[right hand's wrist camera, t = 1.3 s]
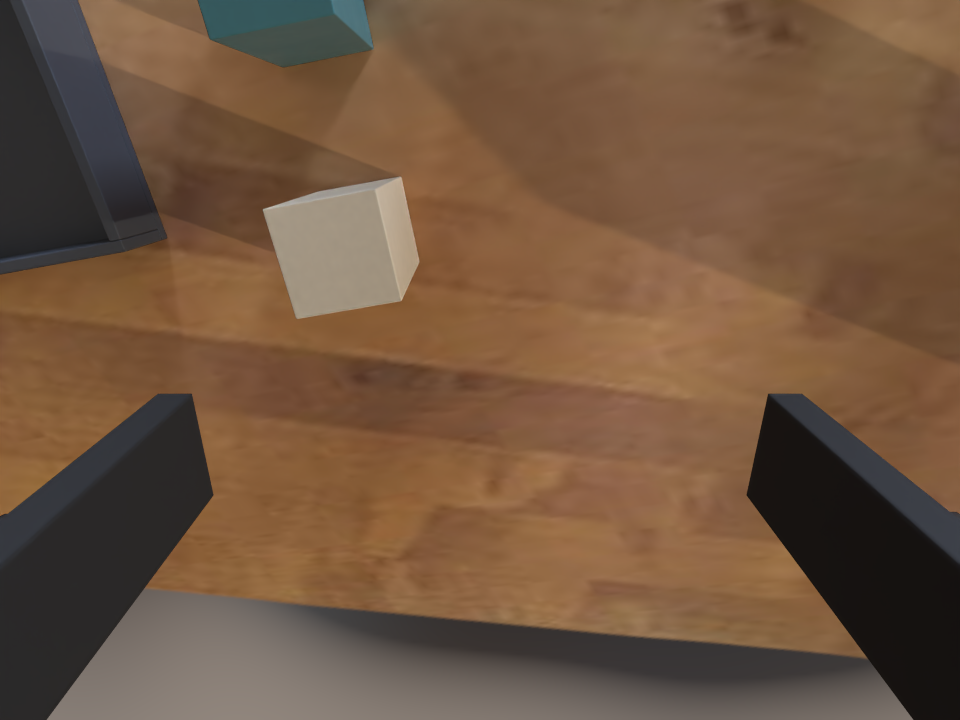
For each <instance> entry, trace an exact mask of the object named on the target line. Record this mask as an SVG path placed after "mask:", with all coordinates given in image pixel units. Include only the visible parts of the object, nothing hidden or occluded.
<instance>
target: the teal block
mask: <svg viewBox="0 0 960 720" xmlns="http://www.w3.org/2000/svg"><path fill="white" fill-rule="evenodd" d="M198 3H199V6H200V9H201V13H202V16H203V19H204V22H205V25H206V29H207V32H208V35H209V38H210V40H212V41H215V42H218V43H220V44H223V45H226V46H228V47H231V48H233V49H236V50H239V51H241V52H244V53H247V54H249V55H252V56H254V57H257V58H260V59H262V60H265V61H268V62H270V63H273V64H275V65H278V66H281V67H288V66H293V65H298V64H303V63H308V62H313V61H318V60H323V59H328V58H333V57H338V56H343V55H348V54H353V53H358V52H363V51H368V50H373V49H374V48H373V43H372V38H371V34H370V29H369V24H368V20H367V15H366V10H365V6H364V1H363V0H198Z"/></svg>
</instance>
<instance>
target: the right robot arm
mask: <svg viewBox="0 0 960 720" xmlns="http://www.w3.org/2000/svg"><path fill="white" fill-rule="evenodd" d="M212 496H213V491H212V486H211V481H210V477H209V472H208V467H207V463H206V458H205V453H204V449H203V444H202V439H201V435H200V430H199V425H198V421H197V416H196V411H195V407H194V402H193V397H192V394H157V395H156V396H155V397H154V398H152V399H151V400H150V401H149V402H147V403H146V404H145V405H144V406H142V407H141V408H140V409H139V410H137V411H136V412H135V413H134V414H132V415H131V416H130V417H129V418H127V419H126V420H125V421H124V422H122V423H121V424H120V425H119V426H117V427H116V428H115V429H114V430H112V431H111V432H110V433H109V434H107V435H106V436H105V437H104V438H102V439H101V440H100V441H98V442H97V443H96V444H95V445H93V446H92V447H91V448H90V449H88V450H87V451H86V452H85V453H83V454H82V455H81V456H80V457H78V458H77V459H76V460H75V461H73V462H72V463H71V464H70V465H68V466H67V467H66V468H65V469H63V470H62V471H61V472H60V473H58V474H57V475H56V476H55V477H53V478H52V479H51V480H50V481H48V482H47V483H46V484H45V485H43V486H42V487H41V488H40V489H38V490H37V491H36V492H35V493H33V494H32V495H31V496H30V497H28V498H27V499H26V500H25V501H23V502H22V503H21V504H20V505H18V506H17V507H16V508H15V509H13V510H12V511H11V512H10V513H8V514H4V515H2V516H0V720H47V718H48V717H49V716H50V714H51V713H52V712H53V710H54V709H55V708H56V706H57V705H58V704H59V702H60V701H61V699H62V698H63V697H64V695H65V694H66V693H67V691H68V690H69V689H70V687H71V686H72V685H73V683H74V682H75V681H76V679H77V678H78V677H79V675H80V674H81V673H82V671H83V670H84V669H85V667H86V666H87V665H88V663H89V662H90V660H91V659H92V658H93V657H94V655H95V654H96V652H97V651H98V650H99V648H100V647H101V646H102V644H103V643H104V642H105V640H106V639H107V638H108V636H109V635H110V634H111V632H112V631H113V630H114V628H115V627H116V626H117V624H118V623H119V622H120V620H121V619H122V618H123V616H124V615H125V613H126V612H127V611H128V609H129V608H130V607H131V605H132V604H133V603H134V601H135V600H136V599H137V597H138V596H139V595H140V593H141V592H142V591H143V589H144V588H145V587H146V585H147V584H148V583H149V581H150V580H151V579H152V577H153V576H154V574H155V573H156V572H157V570H158V569H159V568H160V566H161V565H162V564H163V562H164V561H165V560H166V558H167V557H168V556H169V554H170V553H171V552H172V550H173V549H174V548H175V546H176V545H177V544H178V542H179V541H180V540H181V538H182V537H183V535H184V534H185V533H186V531H187V530H188V529H189V527H190V526H191V525H192V523H193V522H194V521H195V519H196V518H197V517H198V515H199V514H200V513H201V511H202V510H203V509H204V507H205V506H206V505H207V503H208V502H209V501H210V499H211V498H212ZM747 496H748V498H749V499H750V501H751V502H752V503H753V505H754V506H755V507H756V509H757V510H758V511H759V513H760V514H761V515H762V517H763V518H764V519H765V521H766V522H767V523H768V525H769V526H770V527H771V529H772V530H773V531H774V533H775V534H776V535H777V537H778V538H779V540H780V541H781V542H782V544H783V545H784V546H785V548H786V549H787V550H788V552H789V553H790V554H791V556H792V557H793V558H794V560H795V561H796V562H797V564H798V565H799V566H800V568H801V569H802V570H803V572H804V573H805V574H806V576H807V577H808V579H809V580H810V581H811V583H812V584H813V585H814V587H815V588H816V589H817V591H818V592H819V593H820V595H821V596H822V597H823V599H824V600H825V601H826V603H827V604H828V605H829V607H830V608H831V609H832V611H833V612H834V613H835V615H836V616H837V618H838V619H839V620H840V622H841V623H842V624H843V626H844V627H845V628H846V630H847V631H848V632H849V634H850V635H851V636H852V638H853V639H854V640H855V642H856V643H857V644H858V646H859V647H860V648H861V650H862V651H863V652H864V654H865V655H866V657H867V658H868V659H869V660H870V662H871V663H872V665H873V666H874V667H875V669H876V670H877V671H878V673H879V674H880V675H881V677H882V678H883V679H884V681H885V682H886V683H887V685H888V686H889V687H890V689H891V690H892V691H893V693H894V694H895V696H896V697H897V698H898V700H899V701H900V702H901V704H902V705H903V706H904V708H905V709H906V710H907V712H908V713H909V714H910V716H911V717H912V718H913V720H960V514H959V513H957V512H949V511H948V510H947V509H945V508H944V507H943V506H942V505H940V504H939V503H938V502H937V501H935V500H934V499H933V498H932V497H930V496H929V495H928V494H927V493H925V492H924V491H923V490H922V489H920V488H919V487H918V486H917V485H915V484H914V483H913V482H912V481H910V480H909V479H908V478H907V477H905V476H904V475H903V474H902V473H900V472H899V471H898V470H897V469H895V468H894V467H893V466H892V465H890V464H889V463H888V462H887V461H885V460H884V459H883V458H882V457H880V456H879V455H878V454H877V453H875V452H874V451H873V450H872V449H870V448H869V447H868V446H867V445H865V444H864V443H863V442H862V441H860V440H859V439H858V438H856V437H855V436H854V435H853V434H851V433H850V432H849V431H848V430H846V429H845V428H844V427H843V426H841V425H840V424H839V423H838V422H836V421H835V420H834V419H833V418H831V417H830V416H829V415H828V414H826V413H825V412H824V411H823V410H821V409H820V408H819V407H818V406H816V405H815V404H814V403H813V402H811V401H810V400H809V399H808V398H806V397H805V396H804V395H803V394H768V397H767V402H766V407H765V411H764V416H763V421H762V425H761V430H760V435H759V439H758V444H757V449H756V453H755V458H754V463H753V467H752V472H751V477H750V481H749V486H748V491H747Z"/></svg>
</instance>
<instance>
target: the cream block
mask: <svg viewBox="0 0 960 720" xmlns="http://www.w3.org/2000/svg"><path fill="white" fill-rule="evenodd" d="M263 213H264V216H265V219H266V223H267V226H268V229H269V232H270V236H271V239H272V242H273V245H274V249H275V252H276V255H277V258H278V262H279V265H280V268H281V271H282V274H283V278H284V281H285V284H286V287H287V291H288V294H289V297H290V300H291V304H292V307H293V310H294V313H295V316H296V319H300V318H306V317H312V316H318V315H323V314H329V313H335V312H341V311H347V310H352V309H358V308H364V307H370V306H376V305H382V304H387V303H393V302H399V301H402V299H403V297H404V294H405V292H406V290H407V288H408V286H409V284H410V281H411V279H412V277H413V275H414V273H415V271H416V268H417V266H418V264H419V257H418V252H417V247H416V243H415V238H414V234H413V229H412V224H411V220H410V215H409V210H408V206H407V201H406V196H405V192H404V187H403V182H402V178H401V177H394V178H389V179H384V180H378V181H373V182H367V183H362V184H357V185H351V186H346V187H340V188H335V189H330V190H324V191H319V192H315V193H312V194H309V195H306V196H303V197H299V198H296V199H293V200H290V201H287V202H284V203H281V204H278V205H275V206H272V207H269V208H265V209H263Z"/></svg>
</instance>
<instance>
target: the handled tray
mask: <svg viewBox="0 0 960 720" xmlns="http://www.w3.org/2000/svg"><path fill="white" fill-rule="evenodd" d="M164 239H167V236H166V233H165V231H164V228H163V225H162V223H161V220H160V217H159V215H158V212H157V209H156V207H155V204H154V201H153V199H152V196H151V193H150V191H149V188H148V185H147V183H146V180H145V178H144V175H143V172H142V170H141V167H140V164H139V162H138V159H137V156H136V154H135V151H134V148H133V146H132V143H131V140H130V138H129V135H128V133H127V130H126V127H125V125H124V122H123V119H122V117H121V114H120V111H119V109H118V106H117V103H116V101H115V98H114V95H113V93H112V90H111V87H110V85H109V82H108V80H107V77H106V74H105V72H104V69H103V66H102V64H101V61H100V58H99V56H98V53H97V50H96V48H95V45H94V42H93V40H92V37H91V35H90V32H89V29H88V27H87V24H86V21H85V19H84V16H83V13H82V11H81V8H80V5H79V3H78V0H0V274H6V273H11V272H17V271H22V270H28V269H33V268H38V267H44V266H49V265H55V264H60V263H66V262H71V261H77V260H82V259H88V258H93V257H99V256H104V255H110V254H115V253H121V252H126V251H129V250H132V249H135V248H138V247H141V246H145V245H148V244H151V243H154V242H157V241H160V240H164Z"/></svg>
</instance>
